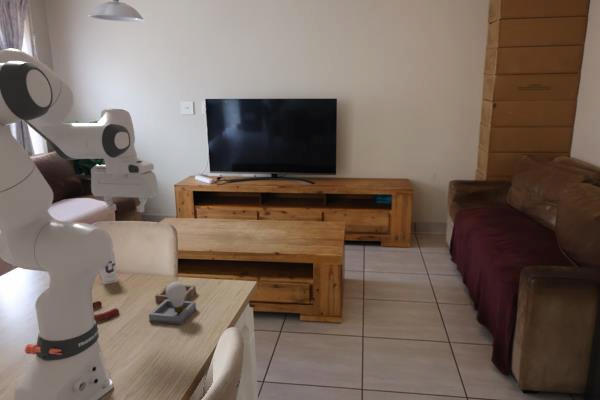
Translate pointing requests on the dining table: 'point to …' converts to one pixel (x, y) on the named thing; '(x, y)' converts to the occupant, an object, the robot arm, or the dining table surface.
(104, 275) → the ink box
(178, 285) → the light bulb
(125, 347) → the dining table surface
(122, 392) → the dining table surface
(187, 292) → the frame
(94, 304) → the pliers
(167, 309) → the tray
